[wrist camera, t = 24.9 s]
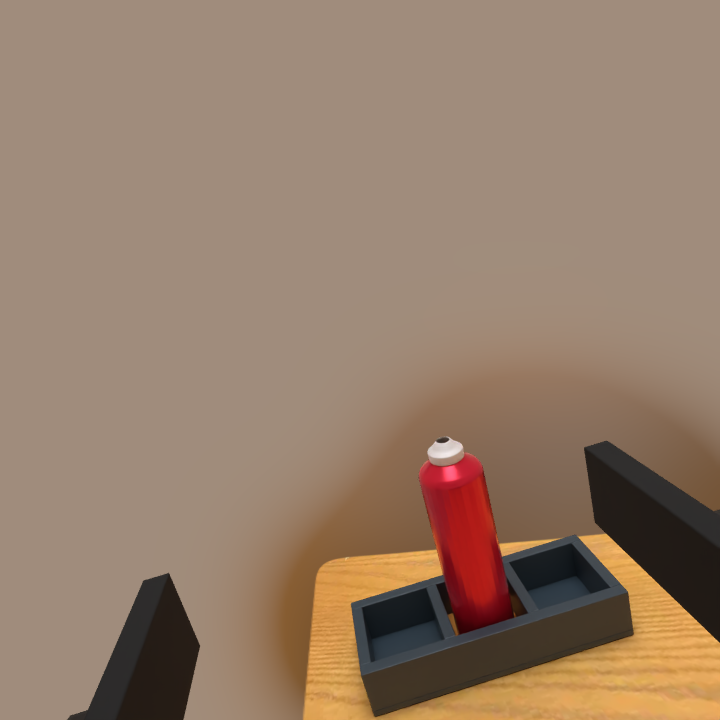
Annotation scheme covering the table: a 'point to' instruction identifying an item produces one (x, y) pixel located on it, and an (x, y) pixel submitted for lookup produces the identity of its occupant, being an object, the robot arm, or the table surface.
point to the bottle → (465, 536)
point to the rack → (494, 642)
